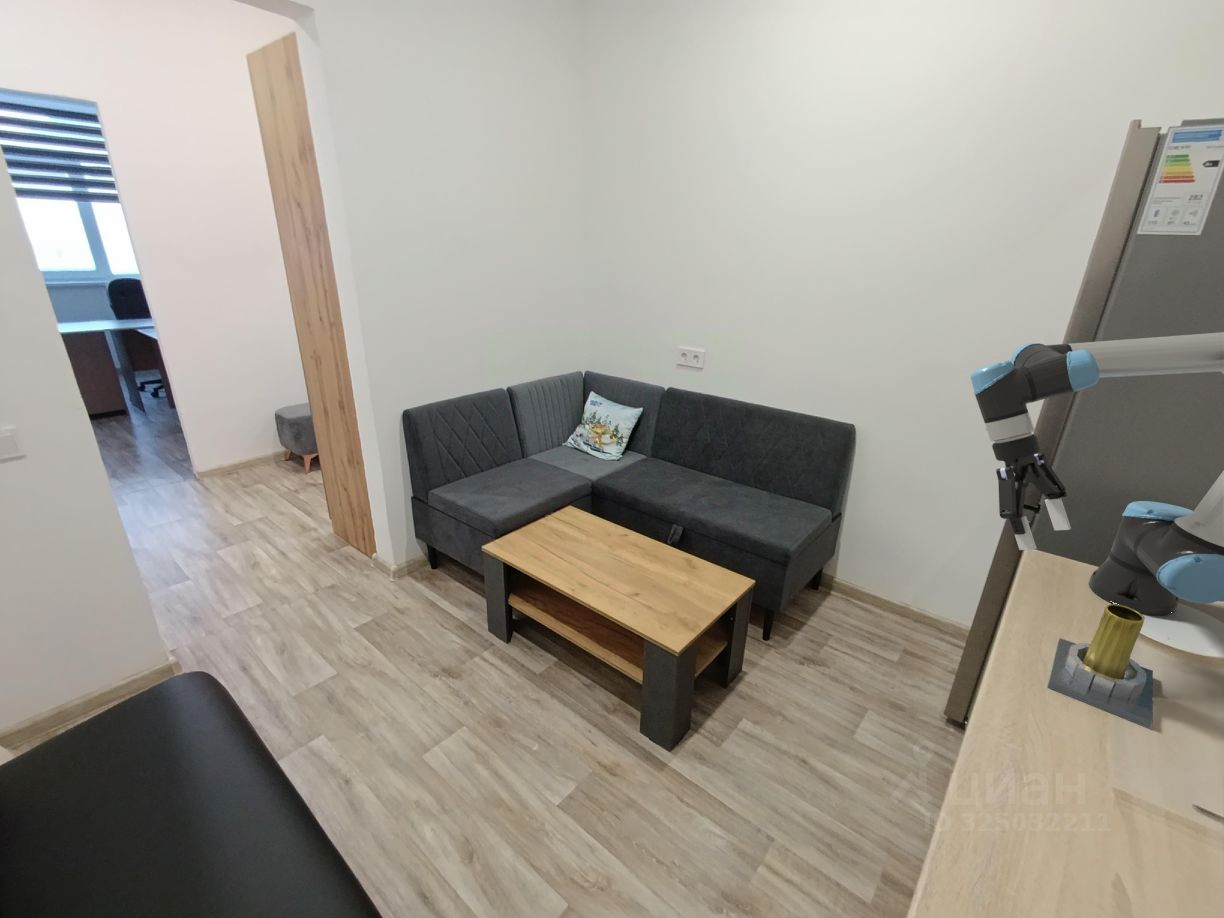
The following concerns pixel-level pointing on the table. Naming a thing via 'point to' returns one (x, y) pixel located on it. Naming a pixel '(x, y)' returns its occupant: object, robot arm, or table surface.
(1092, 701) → the collar stand
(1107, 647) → the vase
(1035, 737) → the table surface
